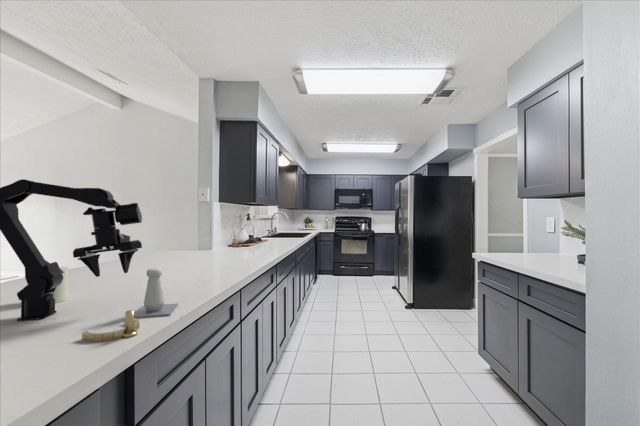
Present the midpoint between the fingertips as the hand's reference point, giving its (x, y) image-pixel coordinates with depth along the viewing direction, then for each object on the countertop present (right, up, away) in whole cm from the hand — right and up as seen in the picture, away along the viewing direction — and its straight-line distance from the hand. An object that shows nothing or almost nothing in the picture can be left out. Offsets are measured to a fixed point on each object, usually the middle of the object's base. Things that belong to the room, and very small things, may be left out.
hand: (112, 274), depth 93 cm
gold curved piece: (+16, -11, -20) cm, 28 cm away
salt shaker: (+15, -11, -3) cm, 19 cm away
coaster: (+16, -11, -3) cm, 19 cm away
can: (-29, -12, +10) cm, 33 cm away
